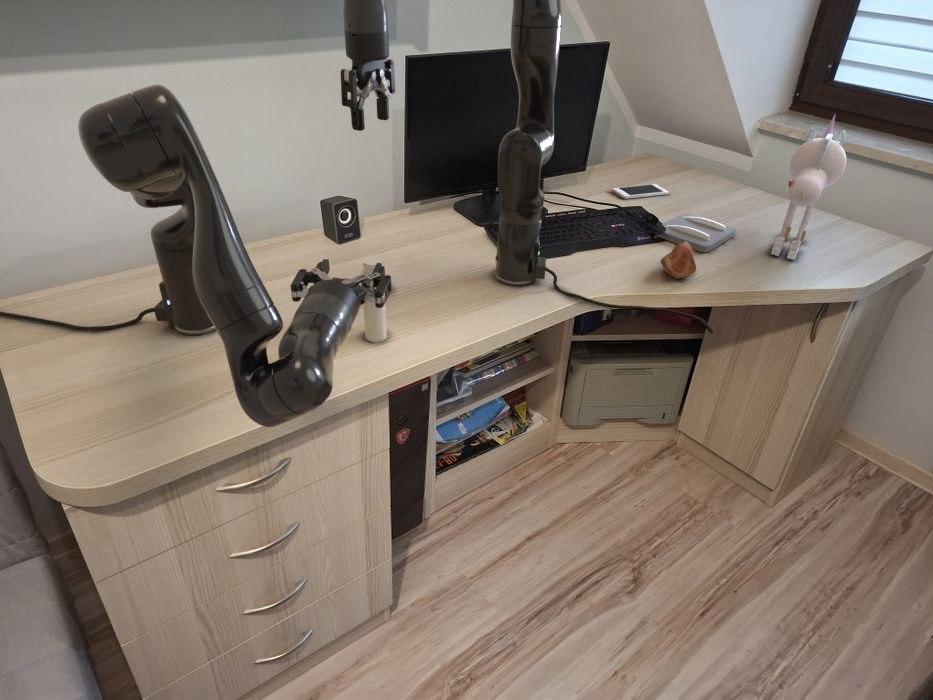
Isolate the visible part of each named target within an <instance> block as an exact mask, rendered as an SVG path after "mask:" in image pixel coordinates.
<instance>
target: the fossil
mask: <svg viewBox="0 0 933 700" xmlns="http://www.w3.org/2000/svg"><path fill="white" fill-rule="evenodd" d="M660 264H661V265H662V267H663V269H664V270H665V272H667V274H669V275H671V277H673V278H675V279H684V278H687V277H689V276H690V275H693V274H695V272H697V264H696V260H695V257H694V252H693V249H692V248H691V246H690V245H689V243H688V242H687V241H685V242H684V243H681V244H676V245H675V246H674V247H673V248H672V250H671V251H670V252H668V253H667V254H666V255H664V256H663V257H662V258H661V259H660Z"/></svg>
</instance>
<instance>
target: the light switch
mask: <svg viewBox="0 0 933 700" xmlns="http://www.w3.org/2000/svg"><path fill="white" fill-rule="evenodd" d="M661 224H662V225H663V226H664V227H665V228H666V231H665V234H667V235H668V237H665V236H662V235H658V236H657V235H654V236H655V237H657V238H659V239H663V240H665V241H669V242H671V243H674V244H676V245H678V244H681V243H684V242H685V241H687V242H688V243H689V245H690V246H691V248H692V250H694V251H697V252H699V253H709V252H711V251H712V250H714V249H716V248H717V247H719V246H720V245H722V244H724V243H725V242H727V241H730V239H732V238H734V237H736V234H737V228H736V227H734V226H732V225H729V224H725V223H722V222H719V221H716V220H713V219H710V218H707V217H703V216H700V215H697V214H694V213H690V212H683V213H682V214H679V215H677V216H675V217H673V218H671V219H669V220H668V221H666V222H663V223H661Z"/></svg>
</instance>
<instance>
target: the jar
mask: <svg viewBox="0 0 933 700" xmlns="http://www.w3.org/2000/svg"><path fill="white" fill-rule="evenodd" d="M377 263H382V260H381V259H380V258H378V257H367V258H364V259H363V261H362V267H363V269H362V270H361V271H360V275H362V274H364V275H366V276H367V275H370V274H372V272H373V270H374V268H375V266H376V264H377ZM371 285H373V281H371V282H370V286H371ZM362 306H363V321H364V332H365V333H364V335H365V339H366V340H367V341H369V342H372V343H379V342H383V341H385V340H386V339H387V337H388V333H387V313H386V312H387V311H386V303H385V304H384V306H383V307H382V308H376V307H375V303H373V302H365V303H364V304H363V305H362Z"/></svg>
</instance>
